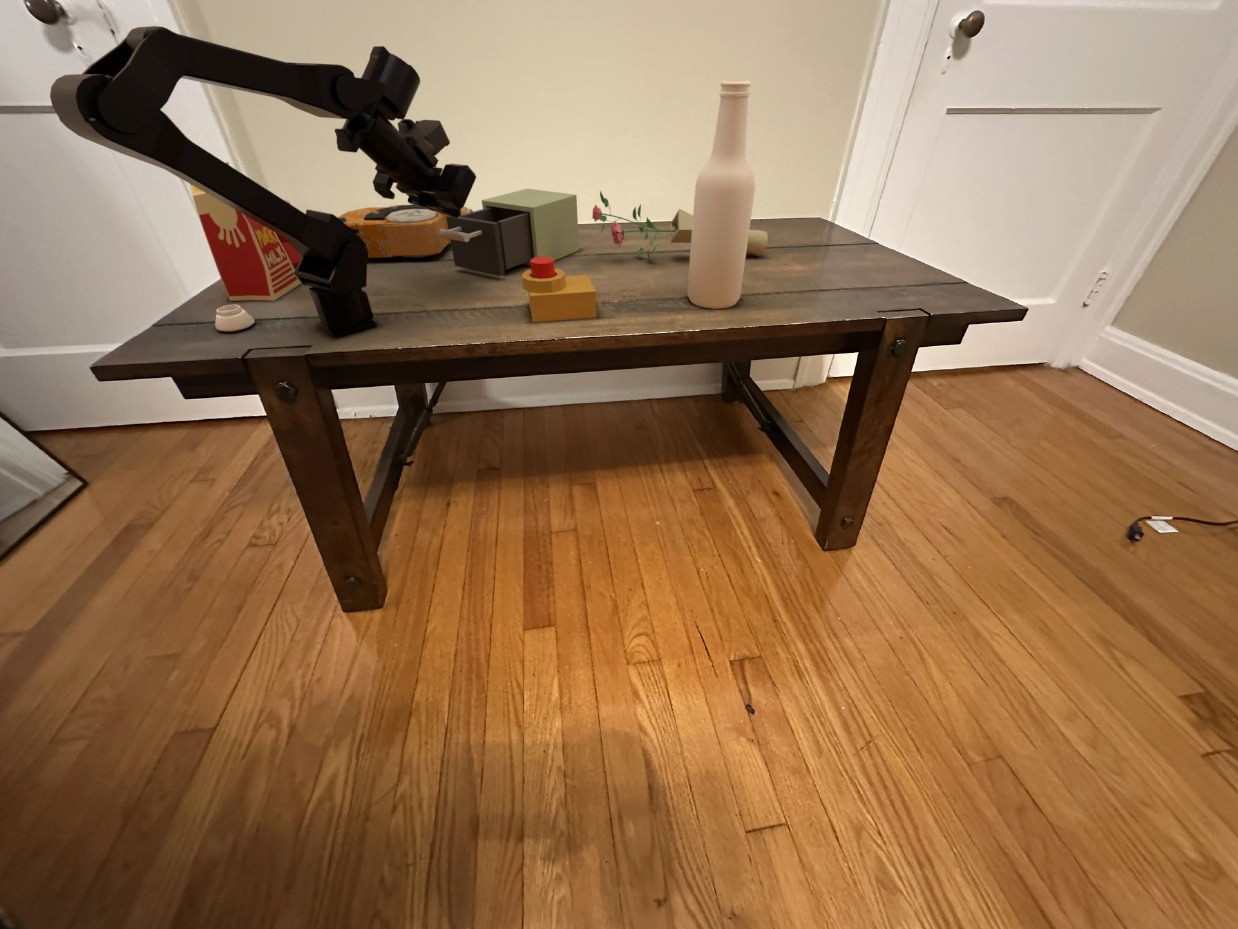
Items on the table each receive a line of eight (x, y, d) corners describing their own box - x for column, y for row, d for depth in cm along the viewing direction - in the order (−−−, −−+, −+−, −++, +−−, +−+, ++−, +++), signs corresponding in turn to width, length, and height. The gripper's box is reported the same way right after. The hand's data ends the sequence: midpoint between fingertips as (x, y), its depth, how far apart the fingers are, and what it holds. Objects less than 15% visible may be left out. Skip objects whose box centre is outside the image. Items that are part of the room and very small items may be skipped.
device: (349, 196, 119) (483, 194, 120) (360, 235, 124) (489, 233, 125) (305, 220, 101) (464, 217, 102) (320, 264, 106) (471, 262, 107)
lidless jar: (216, 325, 81) (219, 336, 78) (207, 306, 80) (210, 317, 76) (253, 318, 84) (257, 328, 80) (245, 299, 82) (249, 309, 79)
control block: (527, 323, 82) (523, 284, 78) (524, 304, 88) (520, 267, 84) (596, 317, 84) (595, 279, 80) (589, 299, 90) (587, 263, 86)
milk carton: (301, 282, 97) (255, 157, 85) (276, 301, 90) (223, 166, 78) (250, 283, 97) (197, 158, 85) (222, 301, 90) (159, 167, 77)
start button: (532, 281, 80) (530, 264, 79) (531, 274, 83) (529, 257, 82) (556, 279, 81) (555, 262, 79) (554, 272, 84) (552, 255, 82)
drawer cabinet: (538, 267, 104) (532, 207, 98) (489, 257, 109) (481, 200, 103) (579, 250, 113) (576, 194, 107) (532, 242, 119) (527, 188, 112)
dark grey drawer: (482, 283, 94) (474, 229, 88) (436, 272, 99) (425, 221, 93) (543, 258, 105) (539, 210, 100) (499, 250, 110) (493, 203, 105)
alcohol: (699, 312, 85) (720, 81, 67) (679, 294, 92) (693, 80, 74) (748, 306, 87) (782, 81, 69) (725, 289, 94) (750, 79, 76)
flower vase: (749, 297, 112) (587, 269, 102) (736, 262, 119) (583, 233, 109) (777, 246, 102) (601, 210, 93) (760, 212, 110) (596, 176, 100)
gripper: (455, 100, 74) (516, 178, 88) (368, 97, 82) (437, 169, 96) (423, 172, 73) (490, 238, 87) (339, 161, 81) (413, 224, 95)
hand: (457, 215), depth 92 cm, fingers closed
